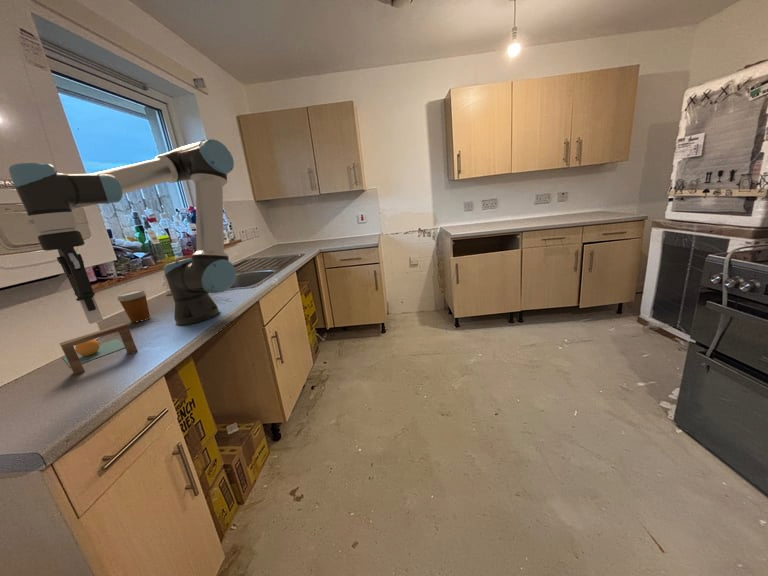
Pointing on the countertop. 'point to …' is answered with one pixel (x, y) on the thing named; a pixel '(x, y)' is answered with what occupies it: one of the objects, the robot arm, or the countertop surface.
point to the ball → (87, 348)
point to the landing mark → (102, 351)
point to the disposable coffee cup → (135, 305)
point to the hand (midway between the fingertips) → (96, 321)
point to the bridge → (69, 344)
